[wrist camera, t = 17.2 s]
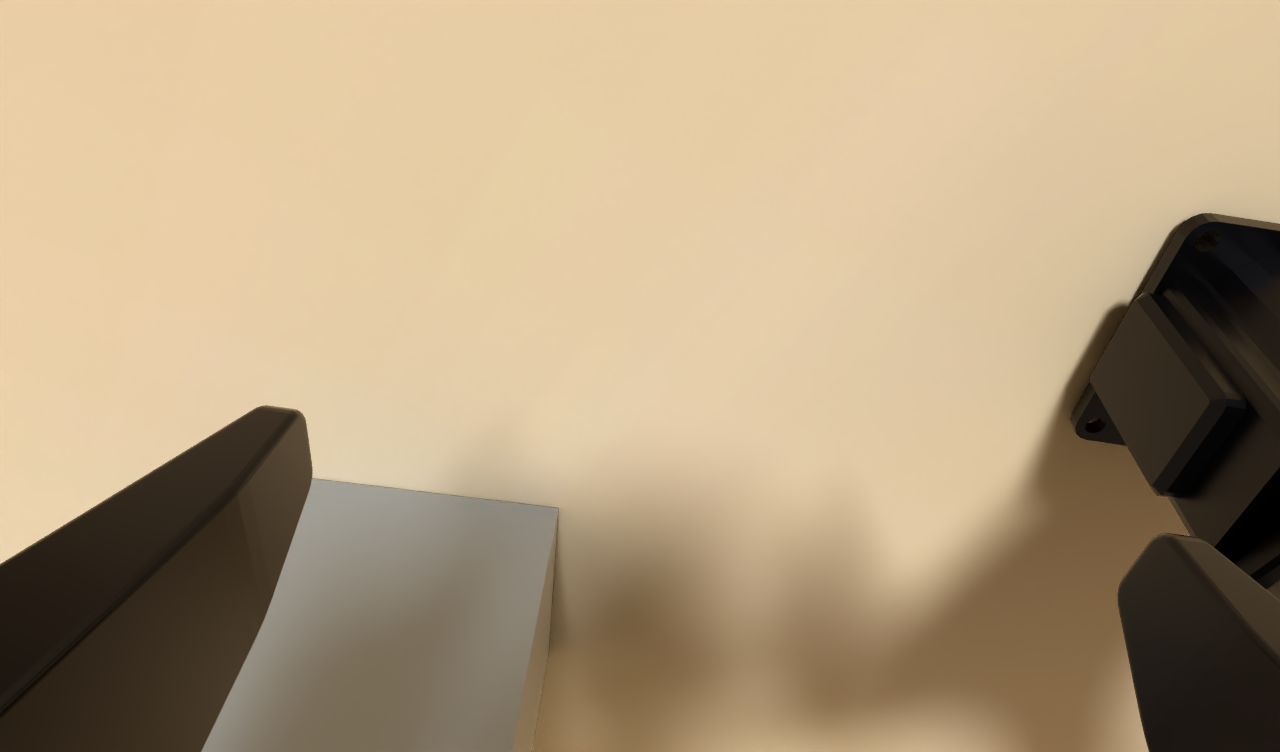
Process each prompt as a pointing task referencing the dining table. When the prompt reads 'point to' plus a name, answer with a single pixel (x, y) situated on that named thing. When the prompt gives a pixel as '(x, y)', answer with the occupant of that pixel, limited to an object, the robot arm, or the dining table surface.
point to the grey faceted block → (400, 628)
